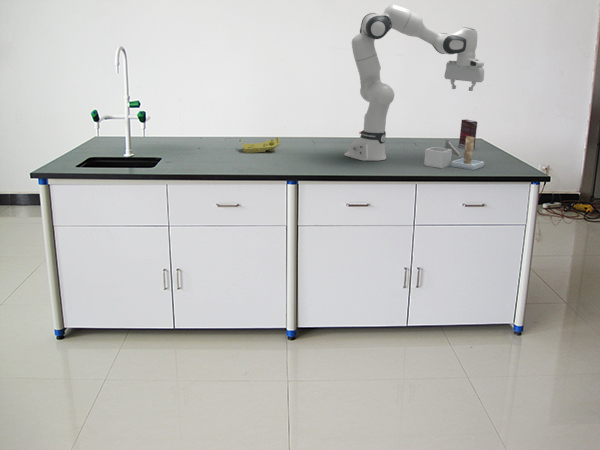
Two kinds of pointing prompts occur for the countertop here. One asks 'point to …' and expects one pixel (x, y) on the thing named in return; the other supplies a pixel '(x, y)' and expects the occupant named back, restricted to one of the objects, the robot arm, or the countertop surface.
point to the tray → (473, 166)
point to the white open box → (438, 157)
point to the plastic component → (261, 146)
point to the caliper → (451, 147)
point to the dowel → (468, 150)
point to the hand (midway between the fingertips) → (462, 89)
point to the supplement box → (467, 131)
